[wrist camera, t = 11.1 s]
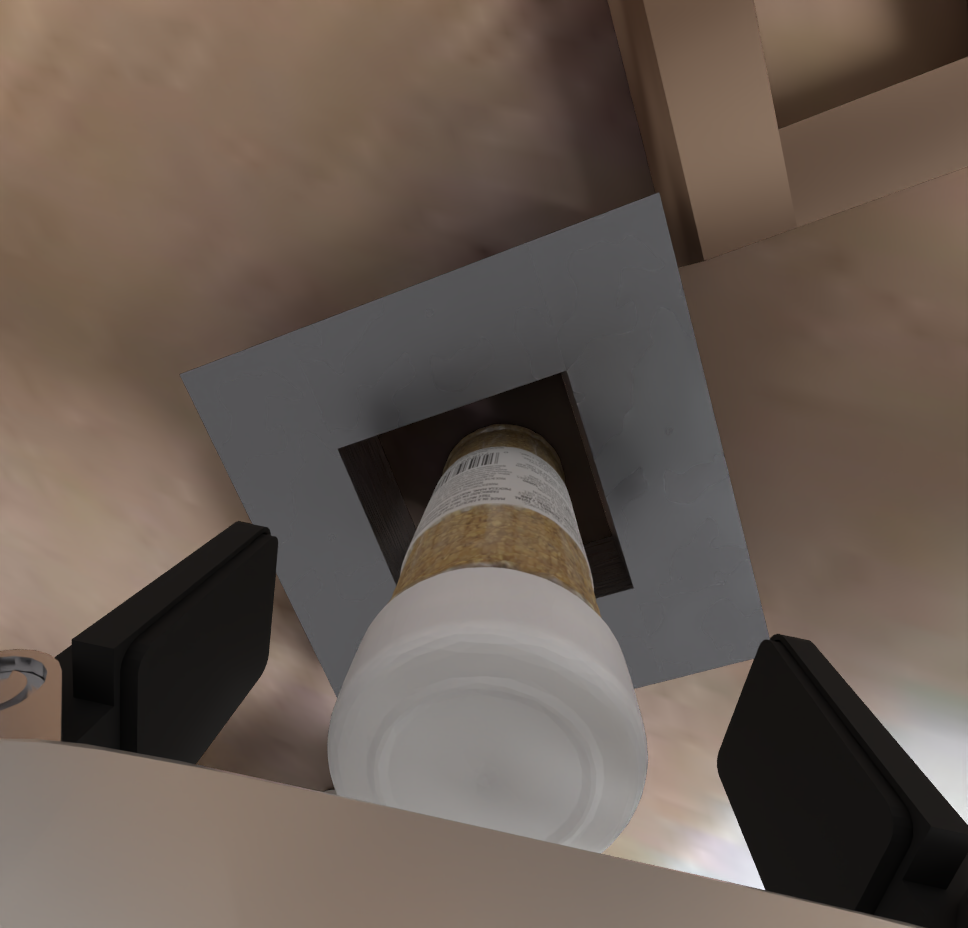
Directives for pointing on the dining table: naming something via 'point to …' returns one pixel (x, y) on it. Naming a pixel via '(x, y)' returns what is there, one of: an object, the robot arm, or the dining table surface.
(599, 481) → the block
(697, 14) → the holder ring
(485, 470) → the sprinkles bottle
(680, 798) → the dining table surface
